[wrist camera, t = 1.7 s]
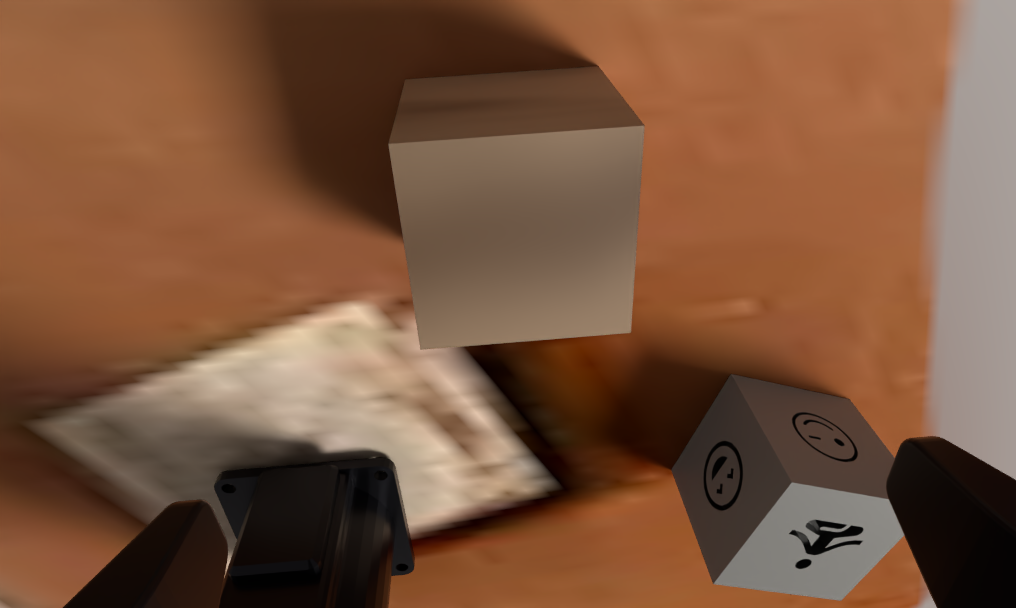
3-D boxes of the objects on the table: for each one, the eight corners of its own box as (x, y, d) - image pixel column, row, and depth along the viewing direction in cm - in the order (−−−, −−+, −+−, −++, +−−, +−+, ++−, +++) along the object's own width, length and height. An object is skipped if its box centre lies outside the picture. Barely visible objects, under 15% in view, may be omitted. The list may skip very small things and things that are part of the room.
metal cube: (593, 236, 19) (630, 332, 15) (428, 249, 19) (420, 349, 15) (597, 65, 17) (644, 125, 13) (405, 78, 17) (387, 143, 12)
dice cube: (848, 397, 24) (931, 506, 20) (780, 487, 26) (841, 600, 22) (730, 372, 23) (792, 482, 19) (670, 468, 25) (713, 583, 21)
